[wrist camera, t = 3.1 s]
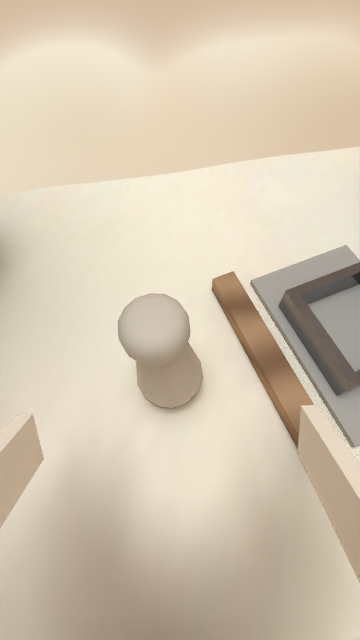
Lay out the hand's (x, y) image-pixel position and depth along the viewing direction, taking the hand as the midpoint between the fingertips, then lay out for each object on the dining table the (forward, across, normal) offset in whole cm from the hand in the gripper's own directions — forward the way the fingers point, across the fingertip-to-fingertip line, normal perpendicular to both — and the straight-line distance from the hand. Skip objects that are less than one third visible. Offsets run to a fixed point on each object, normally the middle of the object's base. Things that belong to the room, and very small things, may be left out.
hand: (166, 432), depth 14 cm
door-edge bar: (+14, +8, -4) cm, 16 cm away
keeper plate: (+16, +17, -1) cm, 23 cm away
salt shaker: (+13, -1, -4) cm, 14 cm away
